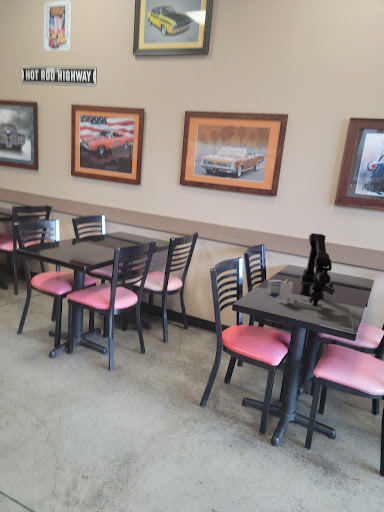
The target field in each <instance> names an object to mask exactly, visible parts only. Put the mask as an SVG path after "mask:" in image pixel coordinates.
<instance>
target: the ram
mask: <svg viewBox="0 0 384 512" xmlns="http://www.w3.org/2000/svg"><path fill="white" fill-rule="evenodd" d="M297 300H298V302H297V303H300V304H306V305H311V306H312V305H313V299H312V297H308V298H307V299H300V298H298V299H297Z"/></svg>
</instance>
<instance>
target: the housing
mask: <svg viewBox="0 0 384 512" xmlns="http://www.w3.org/2000/svg"><path fill="white" fill-rule="evenodd" d="M289 279H290V278H289ZM289 279H288V278H287V279H286V280H283V281H282V280H281V281H282V282H281V286H280V293H278V301H277V303H279V304H283V305H289V304H290V303H291V301H292V293H293V286H294V282H293V281H290V280H289Z"/></svg>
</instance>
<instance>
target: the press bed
mask: <svg viewBox="0 0 384 512" xmlns="http://www.w3.org/2000/svg"><path fill="white" fill-rule="evenodd" d="M297 302H298V299H293V303H292V307H297V308H302V309H306V310H312V311H317V312H322V310H323V307H322V306H323V304H322V303H318V304H317V306H314V303H313V305H312V306H311V305H306V304H300V303H297Z"/></svg>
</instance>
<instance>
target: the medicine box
mask: <svg viewBox="0 0 384 512" xmlns="http://www.w3.org/2000/svg"><path fill="white" fill-rule="evenodd" d="M281 282H282V280H281V279H268V280H267V288H266V294H267V295H269V296H279V294H280V286H281Z"/></svg>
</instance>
